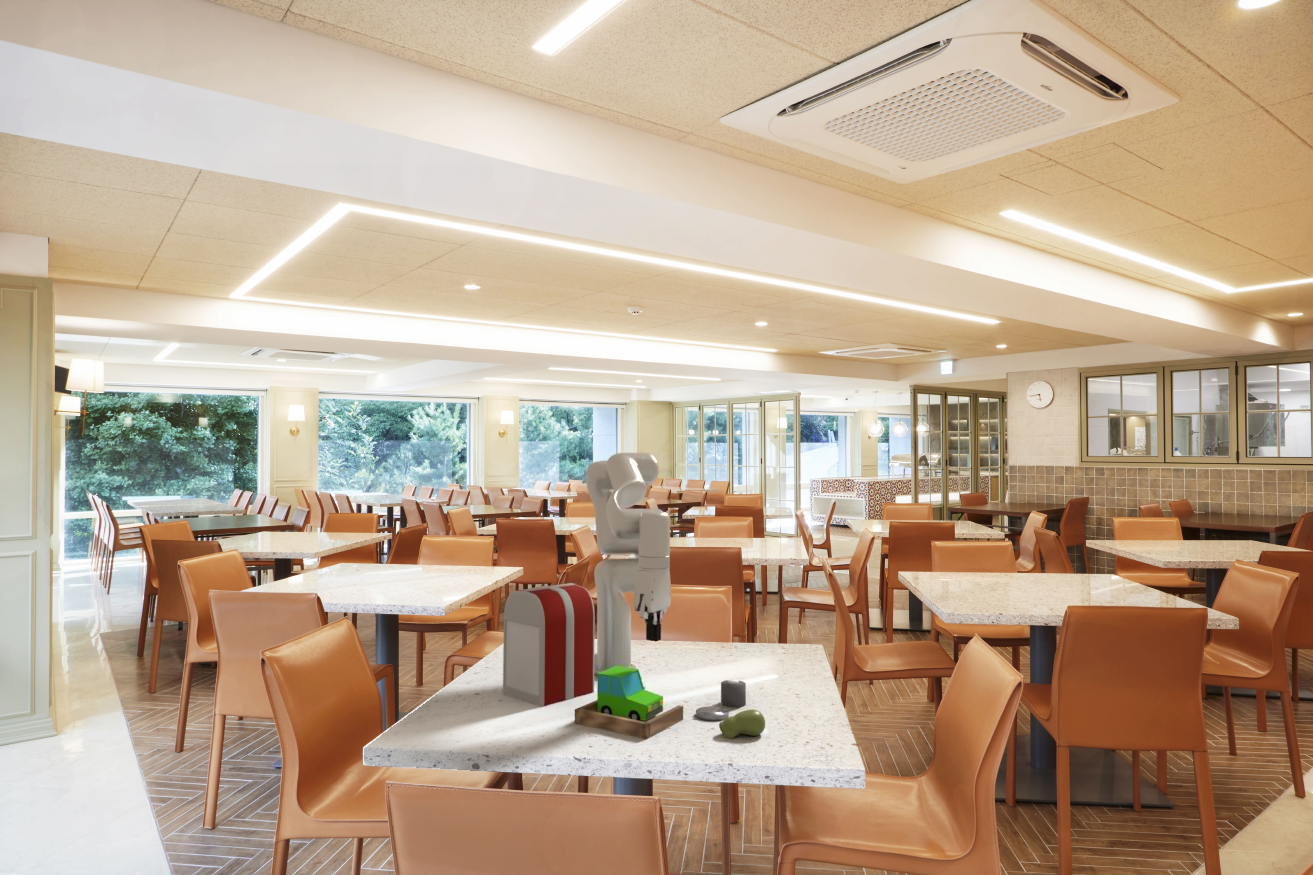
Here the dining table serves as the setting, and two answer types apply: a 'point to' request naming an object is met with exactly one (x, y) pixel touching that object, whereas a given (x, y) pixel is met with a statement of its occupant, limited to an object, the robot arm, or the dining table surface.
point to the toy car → (626, 695)
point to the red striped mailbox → (549, 644)
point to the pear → (743, 724)
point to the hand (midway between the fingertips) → (653, 639)
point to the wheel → (733, 693)
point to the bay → (627, 721)
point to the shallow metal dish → (712, 713)
